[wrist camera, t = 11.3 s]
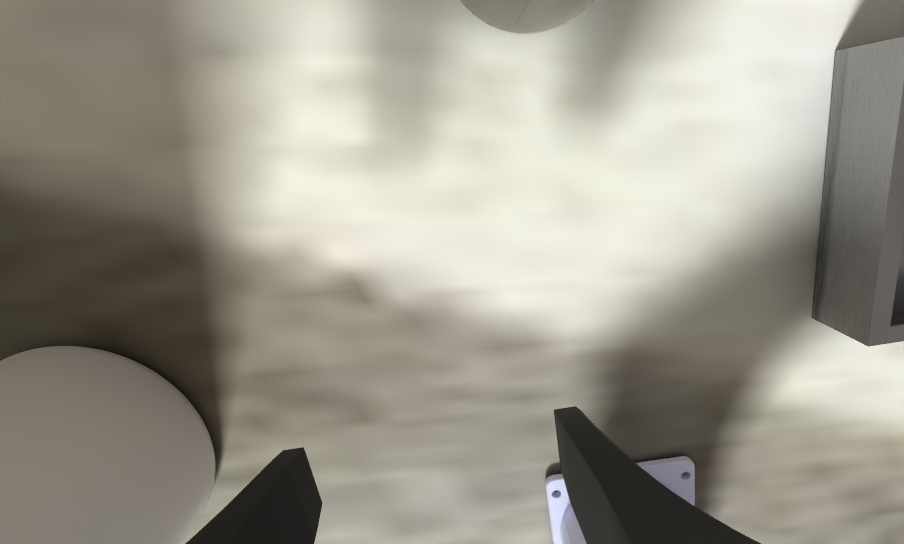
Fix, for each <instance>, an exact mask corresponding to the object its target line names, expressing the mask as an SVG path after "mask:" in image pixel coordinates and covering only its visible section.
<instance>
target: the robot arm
mask: <svg viewBox="0 0 904 544" xmlns="http://www.w3.org/2000/svg"><path fill="white" fill-rule="evenodd" d="M554 415H555V424H556V432H557V441H558V449H559V458H560V466H561V471H562V474H556V475H551V476H549V477H548V478H547V479H546V480H545V487H546V494H547V502H548V509H549V517H550V524H551V532H552V539H553V544H761V543H759V542H757V541H755V540H753V539H751V538H749V537H747V536H745V535H743V534H741V533H739V532H738V531H736V530H734V529H732V528H730V527H729V526H727V525H725V524H724V523H722V522H720V521H718V520H717V519H715V518H713V517H711V516H710V515H708V514H706V513H705V512H703V511H701V510H700V509H698V508H696V507H695V466H694V463H693V462H692V460H691V459H690V458H689V457H686V456H681V457H674V458H667V459H660V460H653V461H646V462H639V463H635V462H634V461H633V460H632V459H630V458H629V457H628V456H627V455H626V454H625V453H624V452H623V451H621V450H620V449H619V448H618V447H617V446H616V445H615V444H614V443H613V442H611V441H610V440H609V439H608V438H607V437H606V436H605V435H604V434H603V433H602V432H601V431H600V430H599V429H598V428H597V427H596V426H595V425H594V424H593V423H592V422H591V421H590V420H589V419H588V418H587V417H586V416H585V415H584V413H583V412H582V411H581V410H580V409H578V408H577V407H576V406H575V407H569V408H562V409H556V410H554ZM684 472H686V473H684ZM682 473H684V474H682ZM556 490H558V492H553V491H556ZM321 507H322V501H321V498H320V495H319V492H318V489H317V486H316V483H315V480H314V477H313V474H312V471H311V468H310V465H309V462H308V459H307V456H306V453H305V450H304V447H303V448H296V449H290V450H283V451H282V452H281V453H280V454H279V455H278V456H276V457H275V458H274V459H273V460H272V461H271V462H270V463H269V464H268V465H267V466H266V467H265V468H264V469H263V470H262V471H261V472H260V473H259V474H258V475H257V476H256V477H255V478H254V479H253V480H252V481H251V482H250V483H249V484H248V485H247V486H246V487H245V488H244V489H243V490H242V491H241V492H240V493H239V494H238V495H237V496H236V497H235V498H234V499H233V500H232V501H231V502H230V503H229V504H228V505H227V506H226V507H225V508H224V509H223V510H222V511H221V512H220V513H219V514H217V515H216V516H215V517H214V518H213V519H212V520H211V521H210V522H209V523H208V524H207V525H206V526H205V527H203V528H202V529H201V530H200V531H199V532H198V533H197V534H196V535H195V536H194V537H193V538H192V539H190V540H189V541H188V542H187V543H186V544H314V541H315V537H316V533H317V528H318V523H319V518H320V513H321Z"/></svg>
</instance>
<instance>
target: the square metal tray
mask: <svg viewBox="0 0 904 544" xmlns="http://www.w3.org/2000/svg"><path fill="white" fill-rule="evenodd" d="M812 318H813V319H815V320H817V321H819V322H821V323H823V324H825V325H827V326H829V327H831V328H833V329H835V330H837V331H839V332H841V333H843V334H845V335H847V336H849V337H851V338H853V339H855V340H857V341H859V342H861V343H863V344H864V345H866V346H874V345H880V344H887V343H894V342H900V341H904V36H903V37H898V38H893V39H888V40H884V41H879V42H874V43H869V44H865V45H860V46H855V47H850V48H846V49H841V50H836V52H835V64H834V75H833V86H832V97H831V109H830V120H829V131H828V143H827V154H826V165H825V177H824V188H823V199H822V211H821V222H820V233H819V244H818V256H817V267H816V278H815V290H814V301H813V312H812Z"/></svg>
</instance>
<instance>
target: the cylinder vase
mask: <svg viewBox="0 0 904 544" xmlns="http://www.w3.org/2000/svg"><path fill="white" fill-rule="evenodd" d="M214 479H215V454H214V449H213V444H212V441H211V438H210V435H209V433H208V430H207V428H206V426H205V424H204V422H203V420H202V419H201V417H200V415H199V414H198V412H197V411H196V409H195V408H194V407H193V405H192V404H191V403H190V402H189V401H188V399H187V398H186V397H185V396H184V395H183V394H182V393H181V392H180V391H179V390H178V389H177V388H176V387H174V386H173V385H172V384H171V383H170V382H168V381H167V380H166V379H164V378H163V377H162V376H160V375H159V374H157V373H156V372H154V371H152V370H151V369H149V368H147V367H145V366H144V365H142V364H140V363H138V362H135V361H133V360H131V359H128V358H126V357H123V356H121V355H118V354H115V353H111V352H108V351H104V350H99V349H94V348H88V347H79V346H51V347H43V348H37V349H32V350H28V351H24V352H21V353H18V354H15V355H12V356H10V357H7V358H5V359H3V360H1V361H0V544H181V543H182V541H183V540H184V538H185V537H186V535H187V533H188V532H189V530H190V529H191V527H192V526H193V524H194V523H195V521H196V520H197V518H198V517H199V515H200V513H201V512H202V510H203V509H204V507H205V505H206V503H207V501H208V499H209V497H210V494H211V491H212V488H213V484H214Z"/></svg>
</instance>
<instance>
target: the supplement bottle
mask: <svg viewBox="0 0 904 544" xmlns="http://www.w3.org/2000/svg"><path fill="white" fill-rule="evenodd" d="M461 1H462V2H463V4H464V5H465V6H466V7H467V8H468V9H469V10H470V11H471V12H472V13H473V14H474V15H476V16H477V17H478V18H479V19H481V20H482V21H484V22H486V23H487V24H489V25H491V26H493V27H496V28H498V29H501V30H504V31H508V32H514V33H537V32H542V31H546V30H549V29H552V28H555V27H557V26H560V25H562V24H563V23H565V22H567V21H569V20H571V19H572V18H574V17H575V16H576V15H578V14H579V13H580V12H582V11H583V10H584V9H585V8H586V7H587V6H589V5H590V4H591V3H592V2H593V1H594V0H461Z"/></svg>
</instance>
